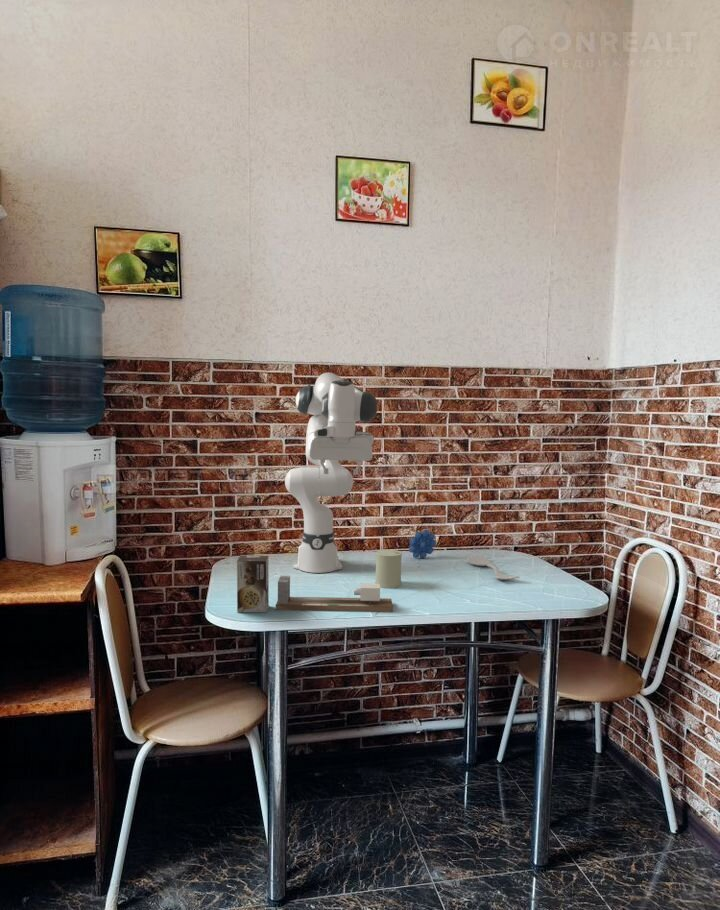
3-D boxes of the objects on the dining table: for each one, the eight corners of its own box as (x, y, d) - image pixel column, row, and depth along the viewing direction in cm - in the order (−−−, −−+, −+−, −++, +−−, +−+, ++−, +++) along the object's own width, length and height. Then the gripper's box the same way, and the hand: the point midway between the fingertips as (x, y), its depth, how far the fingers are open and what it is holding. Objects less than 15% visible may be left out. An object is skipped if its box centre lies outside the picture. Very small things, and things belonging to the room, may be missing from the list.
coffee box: (269, 605, 192) (269, 555, 190) (266, 613, 185) (267, 560, 184) (239, 605, 192) (239, 554, 190) (236, 612, 185) (236, 560, 184)
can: (402, 588, 212) (403, 554, 211) (376, 588, 212) (377, 554, 211) (399, 580, 222) (400, 548, 221) (373, 580, 221) (374, 548, 220)
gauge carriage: (353, 597, 195) (354, 583, 195) (379, 597, 195) (379, 583, 195) (353, 604, 188) (354, 589, 188) (379, 604, 188) (380, 590, 188)
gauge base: (279, 601, 197) (279, 575, 196) (391, 603, 197) (391, 577, 196) (275, 609, 189) (276, 582, 188) (392, 611, 189) (393, 584, 188)
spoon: (497, 585, 219) (497, 575, 219) (463, 562, 251) (463, 553, 250) (520, 584, 221) (520, 574, 221) (483, 561, 252) (483, 553, 252)
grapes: (433, 555, 259) (434, 527, 258) (437, 559, 252) (438, 531, 251) (406, 555, 257) (407, 527, 256) (409, 560, 251) (410, 531, 250)
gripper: (373, 431, 199) (372, 473, 200) (310, 430, 199) (310, 472, 200) (374, 432, 193) (373, 475, 194) (309, 431, 193) (308, 474, 194)
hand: (340, 474), depth 197 cm, fingers open, 8 cm apart
